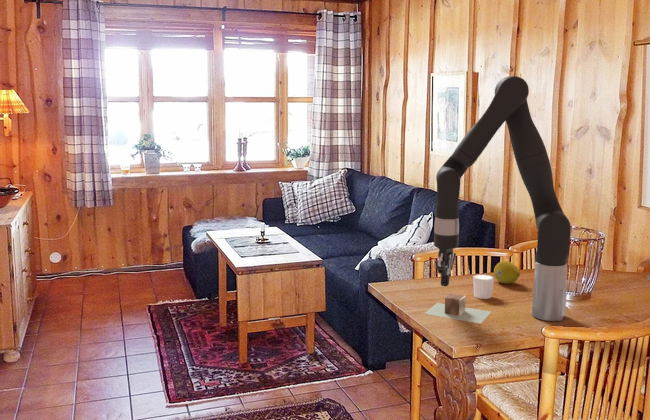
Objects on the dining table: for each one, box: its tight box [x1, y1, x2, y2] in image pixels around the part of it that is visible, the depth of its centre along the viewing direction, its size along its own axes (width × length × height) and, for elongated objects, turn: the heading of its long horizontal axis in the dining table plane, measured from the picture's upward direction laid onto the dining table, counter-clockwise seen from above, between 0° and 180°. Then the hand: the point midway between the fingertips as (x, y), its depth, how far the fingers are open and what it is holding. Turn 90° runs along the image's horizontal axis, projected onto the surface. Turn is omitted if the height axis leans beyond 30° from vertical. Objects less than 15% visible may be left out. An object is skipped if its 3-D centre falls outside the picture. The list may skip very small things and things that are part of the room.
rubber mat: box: [423, 302, 492, 324], centre depth 211 cm, size 18×12×1 cm, turn 61°
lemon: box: [493, 260, 521, 285], centre depth 242 cm, size 11×8×8 cm
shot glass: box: [472, 273, 495, 300], centre depth 227 cm, size 7×7×7 cm
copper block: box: [444, 293, 467, 316], centre depth 211 cm, size 5×5×5 cm
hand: (444, 285), depth 212 cm, fingers closed
